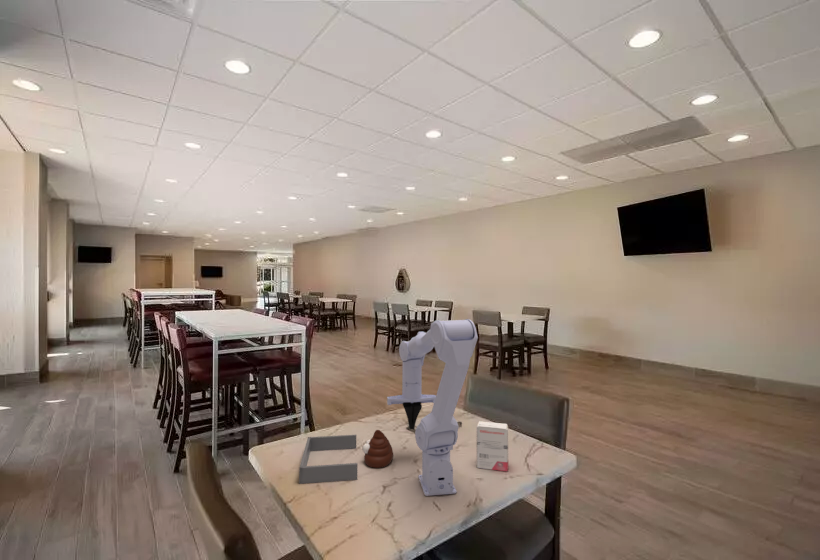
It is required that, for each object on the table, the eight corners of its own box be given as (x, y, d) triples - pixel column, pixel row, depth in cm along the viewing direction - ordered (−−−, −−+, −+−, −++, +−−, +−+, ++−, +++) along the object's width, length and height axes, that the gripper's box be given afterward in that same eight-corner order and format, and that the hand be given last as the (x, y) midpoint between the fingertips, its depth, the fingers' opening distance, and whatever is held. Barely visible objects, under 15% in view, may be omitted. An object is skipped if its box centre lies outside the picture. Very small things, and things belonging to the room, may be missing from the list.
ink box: (508, 464, 108) (508, 422, 108) (508, 472, 103) (508, 429, 103) (477, 460, 110) (478, 419, 110) (476, 468, 106) (476, 425, 106)
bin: (357, 479, 99) (357, 464, 99) (299, 483, 96) (299, 468, 97) (356, 447, 119) (356, 434, 119) (307, 450, 116) (307, 437, 116)
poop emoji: (388, 470, 104) (389, 436, 104) (359, 467, 105) (359, 434, 106) (396, 454, 114) (396, 423, 114) (368, 452, 115) (369, 421, 115)
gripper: (433, 377, 117) (432, 421, 116) (386, 379, 114) (385, 424, 114) (438, 383, 110) (437, 430, 109) (388, 385, 107) (388, 433, 107)
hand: (411, 427), depth 111 cm, fingers closed
